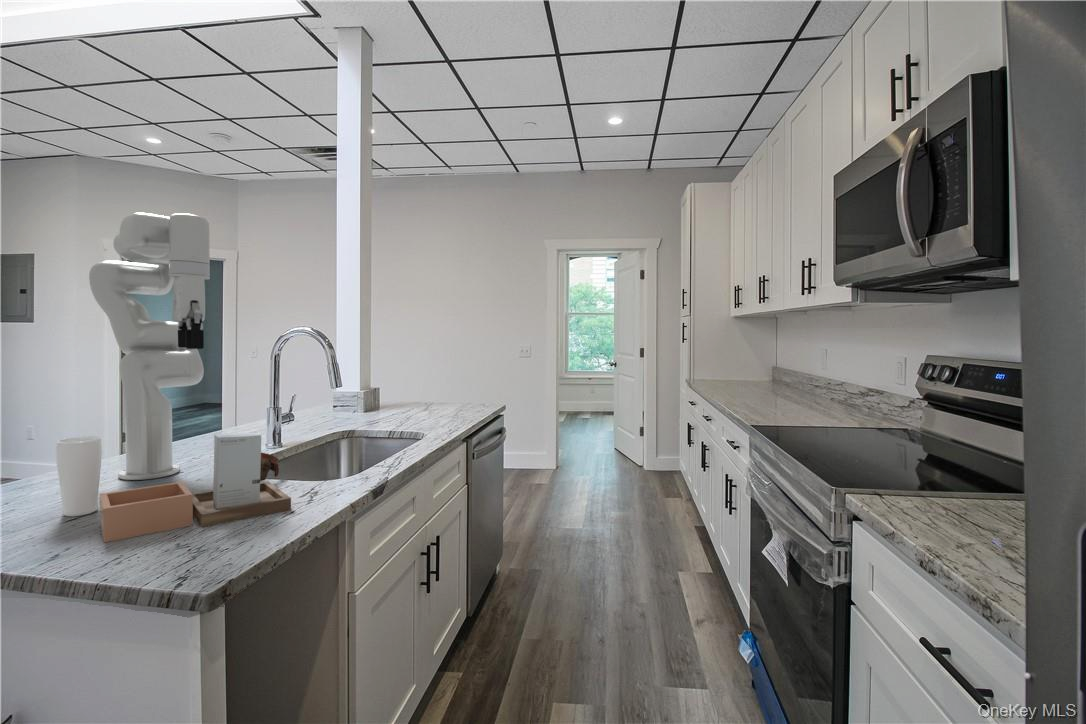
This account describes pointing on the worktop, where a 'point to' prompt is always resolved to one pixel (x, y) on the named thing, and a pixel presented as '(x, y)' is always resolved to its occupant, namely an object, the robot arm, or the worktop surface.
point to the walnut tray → (269, 503)
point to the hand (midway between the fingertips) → (190, 347)
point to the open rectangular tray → (145, 510)
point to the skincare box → (236, 469)
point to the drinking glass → (79, 474)
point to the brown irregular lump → (268, 465)
